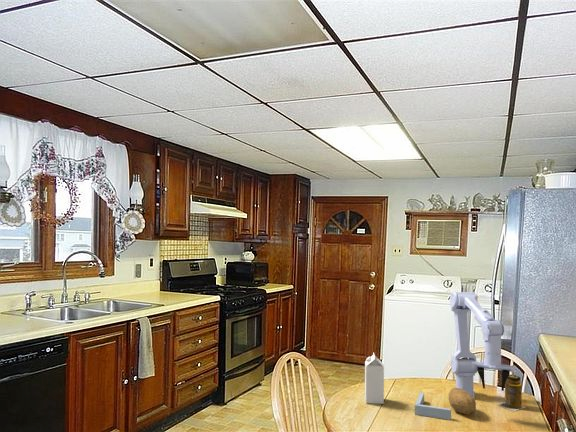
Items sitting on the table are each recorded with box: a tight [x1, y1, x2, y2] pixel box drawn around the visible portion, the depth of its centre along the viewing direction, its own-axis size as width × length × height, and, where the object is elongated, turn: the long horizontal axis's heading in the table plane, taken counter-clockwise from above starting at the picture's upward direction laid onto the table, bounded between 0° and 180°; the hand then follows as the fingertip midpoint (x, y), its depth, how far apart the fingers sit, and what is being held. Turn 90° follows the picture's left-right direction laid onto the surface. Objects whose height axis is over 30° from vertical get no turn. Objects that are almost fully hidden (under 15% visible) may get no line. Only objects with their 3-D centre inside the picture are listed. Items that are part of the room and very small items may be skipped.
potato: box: [448, 387, 477, 415], centre depth 180 cm, size 10×14×8 cm
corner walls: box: [414, 391, 452, 421], centre depth 182 cm, size 16×13×4 cm
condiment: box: [497, 374, 526, 412], centre depth 187 cm, size 7×8×12 cm
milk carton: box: [364, 352, 385, 405], centre depth 192 cm, size 7×7×19 cm
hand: (493, 388), depth 177 cm, fingers open, 6 cm apart
